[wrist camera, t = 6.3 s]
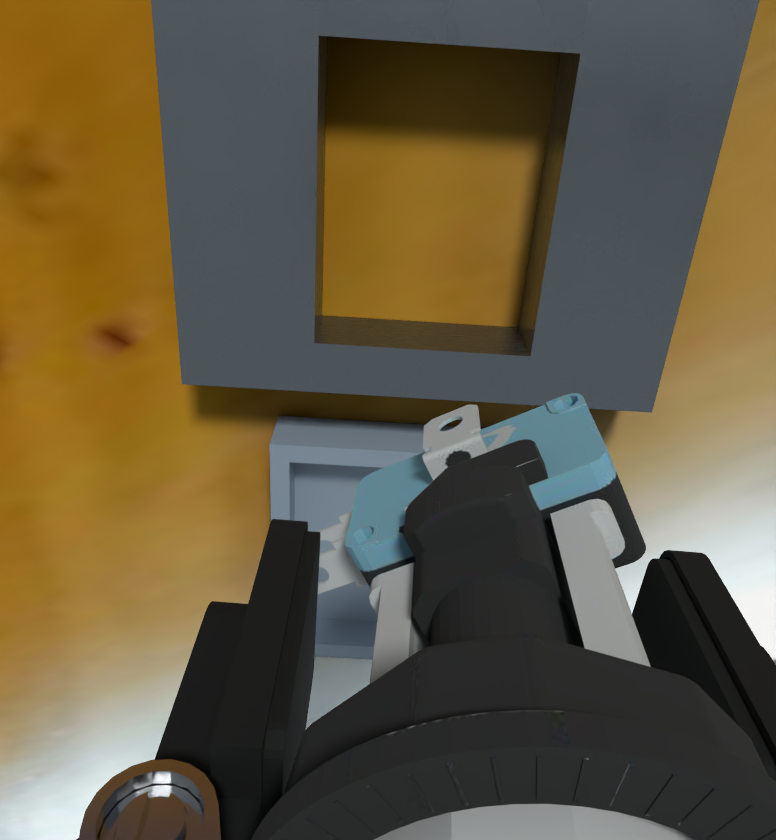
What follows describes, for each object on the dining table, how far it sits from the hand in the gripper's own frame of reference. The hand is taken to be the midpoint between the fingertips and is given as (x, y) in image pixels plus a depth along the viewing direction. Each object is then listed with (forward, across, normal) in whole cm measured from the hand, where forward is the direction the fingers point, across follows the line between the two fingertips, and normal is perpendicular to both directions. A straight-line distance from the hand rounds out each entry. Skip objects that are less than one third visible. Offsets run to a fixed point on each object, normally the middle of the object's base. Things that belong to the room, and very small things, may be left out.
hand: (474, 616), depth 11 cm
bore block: (+19, 0, -3) cm, 19 cm away
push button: (+4, 0, 0) cm, 4 cm away
